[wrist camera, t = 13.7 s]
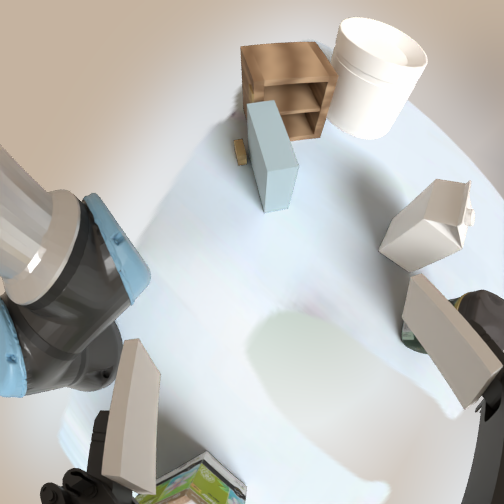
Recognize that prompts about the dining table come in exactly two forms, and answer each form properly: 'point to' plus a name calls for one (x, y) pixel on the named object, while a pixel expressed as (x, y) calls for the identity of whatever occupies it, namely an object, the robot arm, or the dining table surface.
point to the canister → (372, 76)
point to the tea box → (197, 485)
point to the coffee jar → (471, 317)
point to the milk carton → (430, 226)
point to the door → (271, 155)
